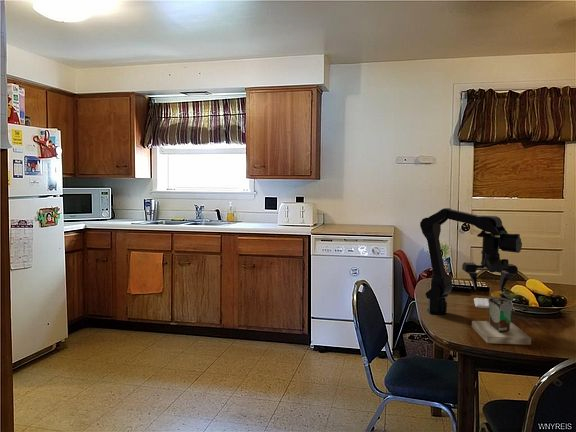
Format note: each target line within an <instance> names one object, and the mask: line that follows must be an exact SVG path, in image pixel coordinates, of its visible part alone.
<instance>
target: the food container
mask: <svg viewBox="0 0 576 432" xmlns="http://www.w3.org/2000/svg"><path fill="white" fill-rule="evenodd" d="M488 299H489V301H488V302H489V308H488V311H489V312H488V313H489V314H488V316H489V317H488V318H489V323H490V325H491V326H492V327H493V328H494V329H495V330H496V331H498V332H499V333H503V332H508V331H509V330H510V322H511V319H512V311H513V310H512V309H514V307H513V303H512V301H513V300H510V299H508V298H505V297H499V296H489V297H488Z"/></svg>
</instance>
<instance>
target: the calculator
mask: <svg viewBox="0 0 576 432" xmlns="http://www.w3.org/2000/svg"><path fill="white" fill-rule="evenodd" d="M488 301H489V298H486V297H485V298H483V297H481V298H479V297H475V298H473V303H474V306H475V308H481V309H489V302H488Z"/></svg>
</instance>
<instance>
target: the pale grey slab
mask: <svg viewBox="0 0 576 432" xmlns="http://www.w3.org/2000/svg"><path fill="white" fill-rule="evenodd" d="M471 328H472V329H474V331H475V332H476V333H477V334H478V335H479V336H480V337H481V339H483V340H484V341H485V342H486V344H500V345H501V344H502V345H526V346H532V337H530V336H529V335H528V334H527V333H525V332H524V331H523V330H522V329H520V328H519V327H518V326H516V325H515V323H513V322H511V321H510V330H509V331H508V332H503V333H499V332H498V331H496V330H495V329H494V328H493V327H492V326H491V325H490V323H489V321H488V320H485V321H484V320H471Z"/></svg>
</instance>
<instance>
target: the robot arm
mask: <svg viewBox="0 0 576 432" xmlns="http://www.w3.org/2000/svg"><path fill="white" fill-rule="evenodd" d="M448 220H451V221H455V222H460V223H464V224H468V225H471V226H474V227H476V228H477V229H479V230H481V231H480V232H479V233H478V234H477V235H476V236H477V237H478V238H482V243H481V245H482V248H481V249H482V250H481V252H480V253H481V261H480V264H476V263H475V262H463V263H462V267H461V271H464V272H465V273H467V274H468V275H469V277H470V279H471V282H472V284H473V287H474V290H475V291H477V290H478V273H477V271H488V272H489V273H493V274H494V273H498V274H500V276H499V277H500V280H499V291H500V292H503V290H504V287H505V285H506V284H507V282H508V280H509V278H510V277H514V275H518V273H519V271H518V270H519V268H518V267H517V265H515V264H512V263H510V261H509V259H508V258H502V259H501V257H500V256H501V255H500V253H499V250H501V251H502V252H508V253H516V254H519V253H521V251H522V247H523V242H522V238H521V234H520V233H509V232H508V231H507V229H506V228H505V227H504V225H503V222H502V219H501V217H499V216H498V215H497V216H496V215H477V214H473V213H469V212H464V211H461V210H460V211H459V210H456V209H452V208H449V207H447V208H446V207H445V208H442V209H440V210H439V211H437V212H435V213H434V214H432V215H430V216H428V217H423V218H422V219H421V220H420V222H419V227H420V229H421V233H422V235H423V236H424V238H425V239H426V241H427V246H428V247H427V248H428V252H429V258H430V264H431V265H430V266H431V269H432V277H431V282H430V286H431V287H430V289H429V290H427V291H426V292H425V296H426V299H428V304H427V305H428V306H427V310H426V311H427V312H428V313H429V315H447V310H448V309H447V307H448V305H447V304H448V302H447V300H446V298H447V297H448V296H449V294H450V293H451V291H452V290H453V286H454V284H453V278H452V277H453V276H452V275H450V276H448V274H447V273H446V271H445V270H446V269H445V264H444V258H443V253H442V247H441V243H440V242H441V241H440V237H441V236H440V234H441V231H442V229H441V228H442V227H441V225H444V224H445V223H446V222H447V221H448Z"/></svg>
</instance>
